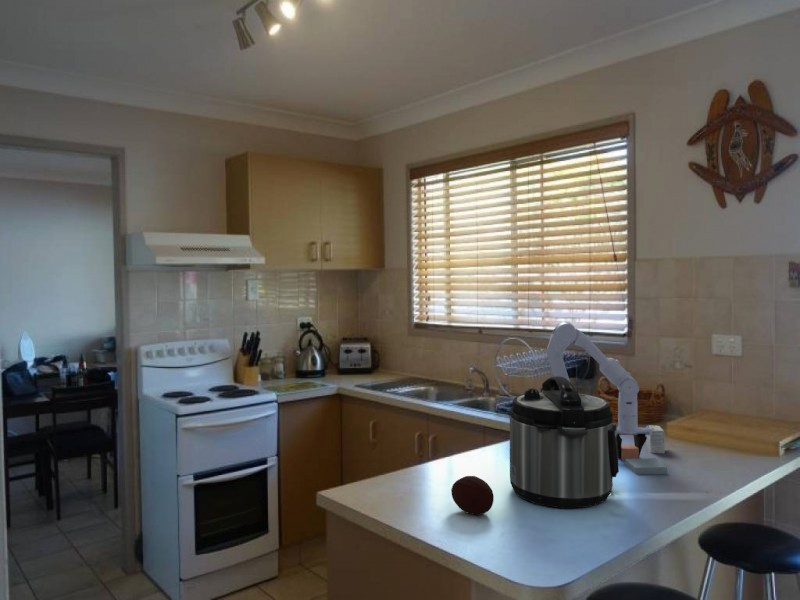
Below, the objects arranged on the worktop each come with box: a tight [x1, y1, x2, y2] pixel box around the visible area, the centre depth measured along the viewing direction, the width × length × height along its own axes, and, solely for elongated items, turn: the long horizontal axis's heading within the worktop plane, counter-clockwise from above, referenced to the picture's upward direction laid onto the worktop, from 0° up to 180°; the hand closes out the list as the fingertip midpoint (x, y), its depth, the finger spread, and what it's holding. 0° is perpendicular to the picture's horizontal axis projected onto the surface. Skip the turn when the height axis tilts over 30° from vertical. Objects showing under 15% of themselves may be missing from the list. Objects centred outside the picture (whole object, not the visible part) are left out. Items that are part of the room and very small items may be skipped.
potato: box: [450, 475, 495, 515], centre depth 158 cm, size 9×12×9 cm
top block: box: [624, 457, 668, 475], centre depth 187 cm, size 9×9×2 cm
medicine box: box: [645, 424, 666, 454], centre depth 208 cm, size 8×4×9 cm, turn 168°
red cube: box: [620, 443, 640, 461], centre depth 199 cm, size 5×5×5 cm
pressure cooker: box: [509, 376, 620, 509], centre depth 171 cm, size 30×28×32 cm
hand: (627, 457), depth 199 cm, fingers closed on red cube, 5 cm apart
